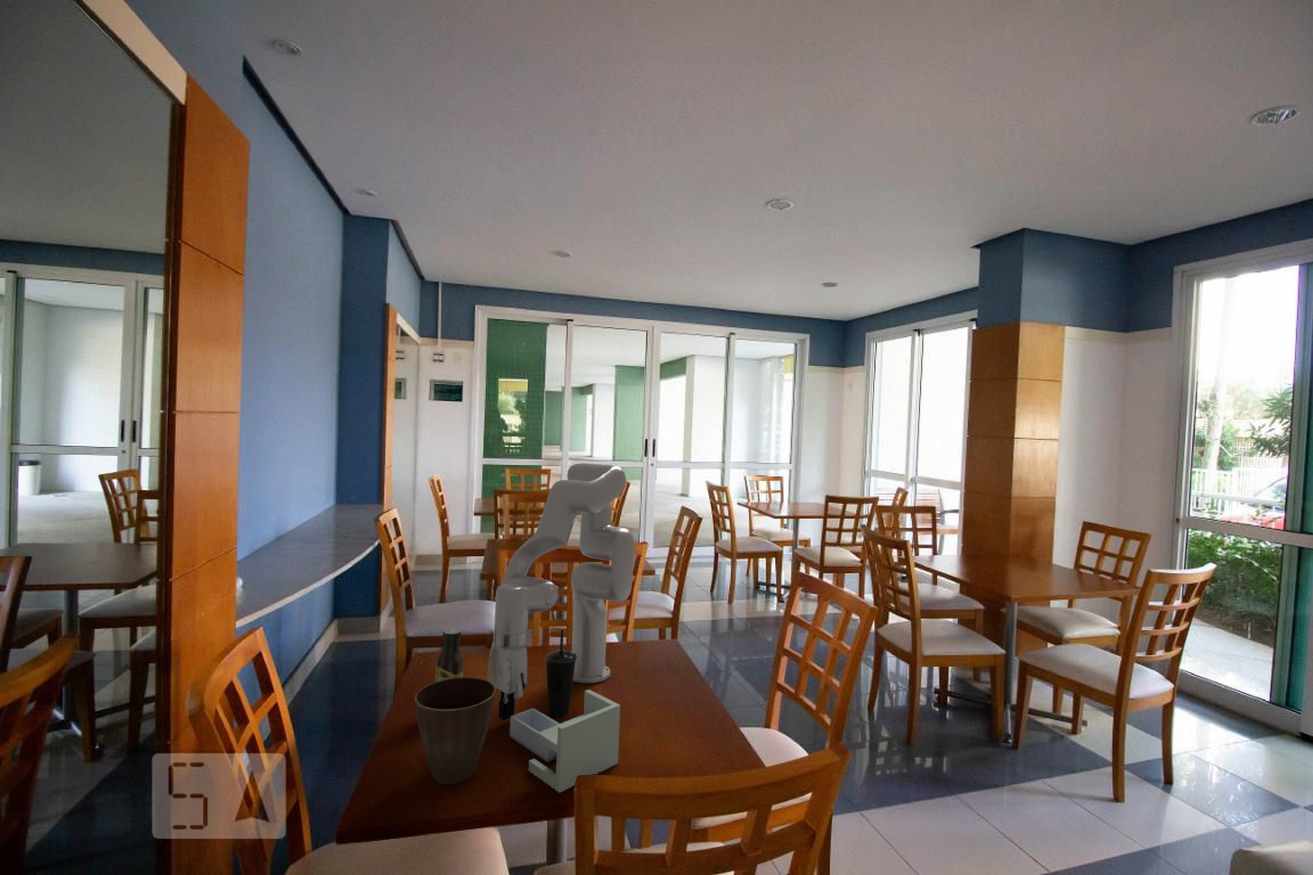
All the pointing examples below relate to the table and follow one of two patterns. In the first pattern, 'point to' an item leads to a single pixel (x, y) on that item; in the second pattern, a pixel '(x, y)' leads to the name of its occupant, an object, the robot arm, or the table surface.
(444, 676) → the sauce bottle
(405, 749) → the table surface
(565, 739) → the shelf slot
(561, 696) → the drinking cup
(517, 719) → the tray
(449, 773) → the plant pot
